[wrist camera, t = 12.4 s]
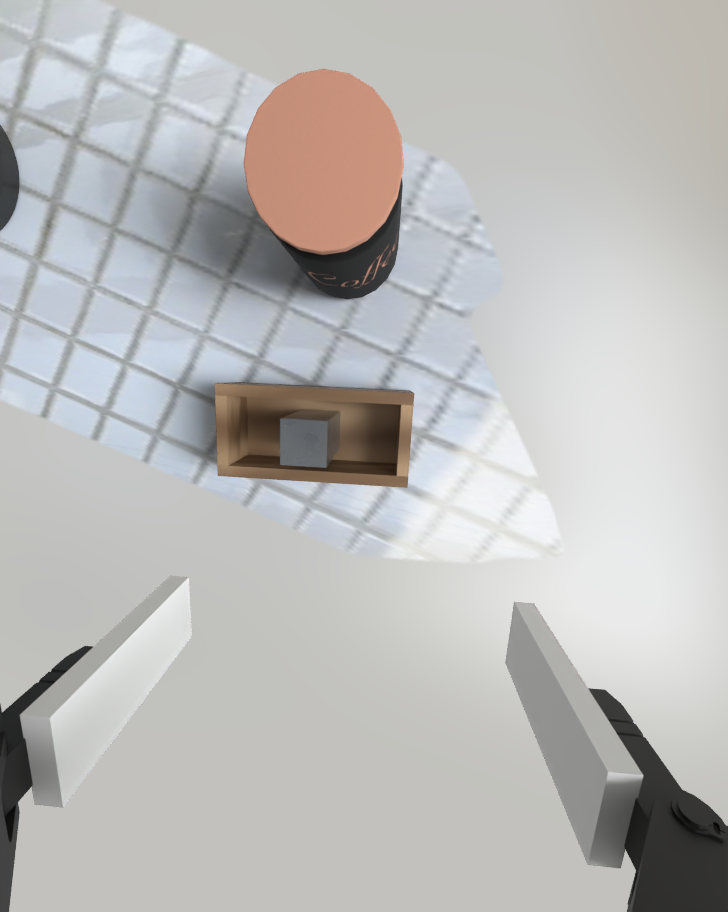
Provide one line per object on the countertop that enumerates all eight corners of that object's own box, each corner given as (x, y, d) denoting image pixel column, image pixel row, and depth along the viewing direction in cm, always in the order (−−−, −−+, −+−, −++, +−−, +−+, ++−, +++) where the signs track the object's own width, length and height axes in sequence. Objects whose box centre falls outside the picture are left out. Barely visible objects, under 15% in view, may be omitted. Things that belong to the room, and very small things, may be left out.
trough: (239, 382, 47) (214, 383, 40) (410, 390, 46) (414, 393, 39) (241, 462, 49) (217, 475, 42) (404, 471, 48) (407, 487, 41)
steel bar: (303, 409, 46) (280, 418, 36) (340, 411, 46) (327, 421, 36) (302, 446, 47) (280, 465, 37) (339, 448, 47) (326, 467, 37)
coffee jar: (318, 313, 44) (272, 272, 27) (289, 215, 42) (220, 102, 25) (408, 285, 43) (421, 223, 26) (383, 182, 41) (379, 40, 24)
